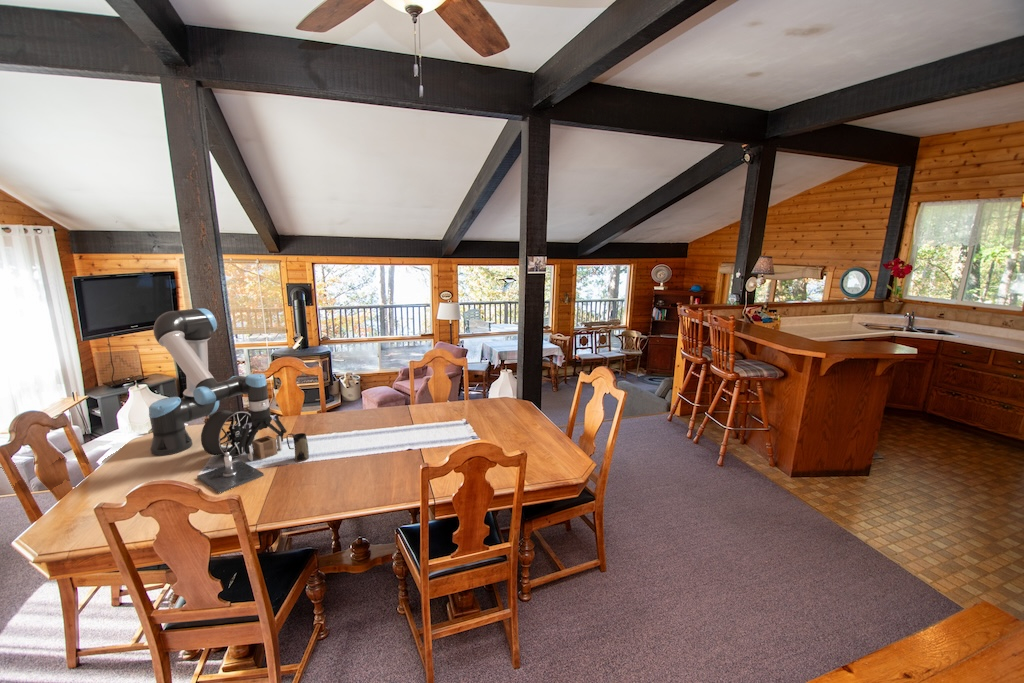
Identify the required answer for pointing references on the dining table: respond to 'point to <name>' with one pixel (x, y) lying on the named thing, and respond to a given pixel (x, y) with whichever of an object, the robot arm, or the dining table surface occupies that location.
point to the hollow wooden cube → (264, 447)
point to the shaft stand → (229, 475)
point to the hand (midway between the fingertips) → (265, 454)
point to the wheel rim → (213, 430)
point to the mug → (300, 447)
